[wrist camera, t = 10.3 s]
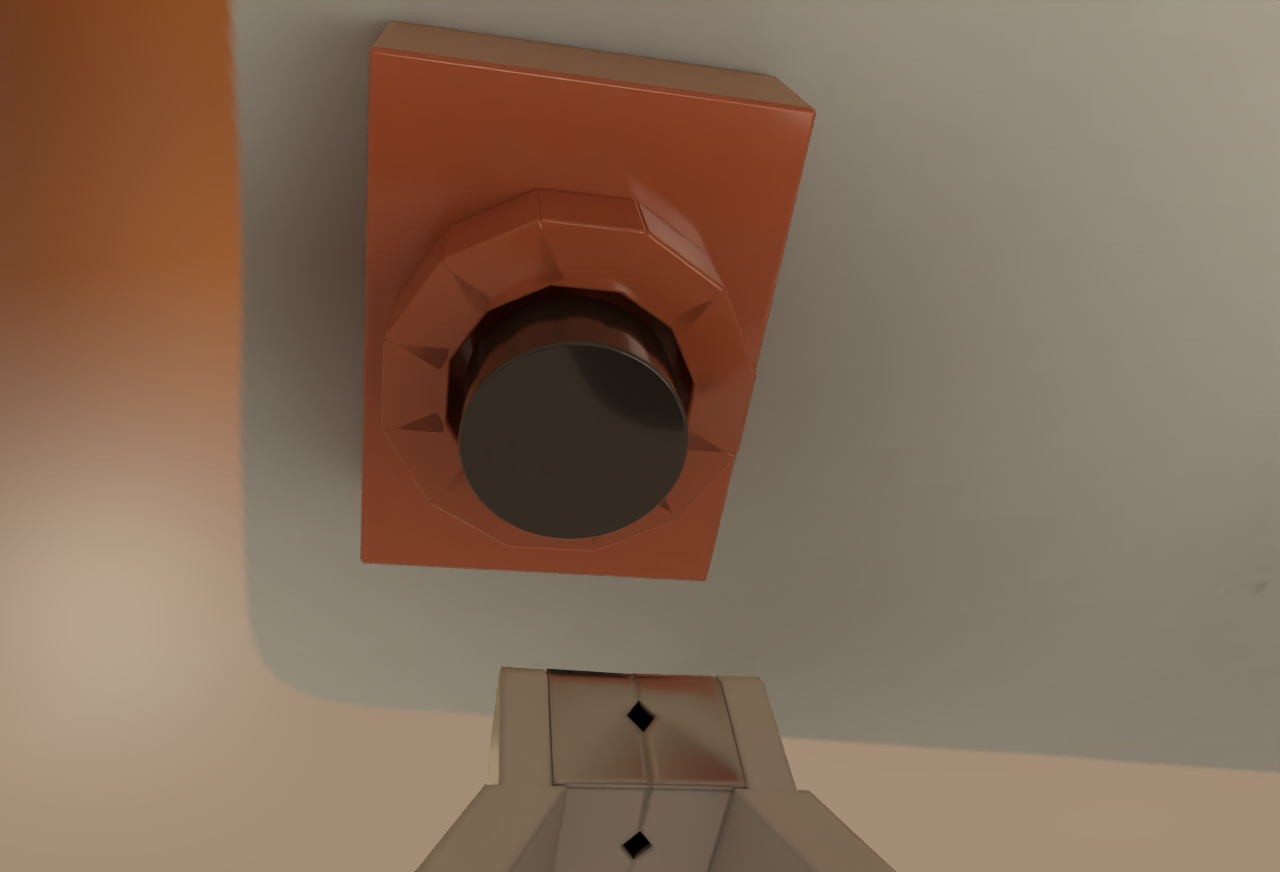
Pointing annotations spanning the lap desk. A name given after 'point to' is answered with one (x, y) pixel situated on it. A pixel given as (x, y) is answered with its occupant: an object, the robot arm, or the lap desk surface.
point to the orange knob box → (561, 267)
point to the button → (571, 419)
